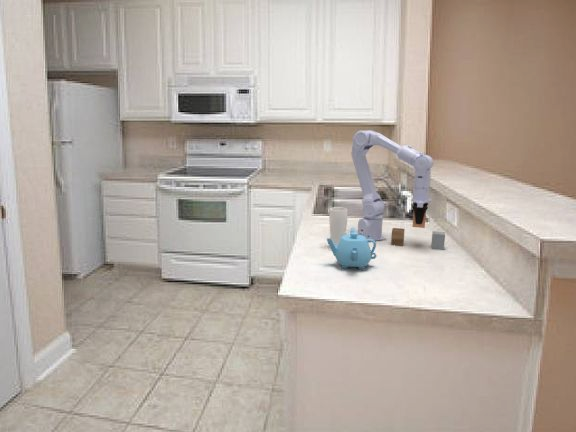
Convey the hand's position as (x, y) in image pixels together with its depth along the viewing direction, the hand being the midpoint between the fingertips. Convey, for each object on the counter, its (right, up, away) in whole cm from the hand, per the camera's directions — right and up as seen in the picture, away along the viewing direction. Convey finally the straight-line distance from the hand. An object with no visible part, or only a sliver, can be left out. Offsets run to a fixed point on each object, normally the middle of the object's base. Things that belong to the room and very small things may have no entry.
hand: (418, 222), depth 168 cm
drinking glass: (-31, -10, -1) cm, 33 cm away
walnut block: (-7, -9, +4) cm, 12 cm away
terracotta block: (0, -1, 0) cm, 1 cm away
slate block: (+7, -10, 0) cm, 12 cm away
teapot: (-29, -14, -21) cm, 39 cm away
